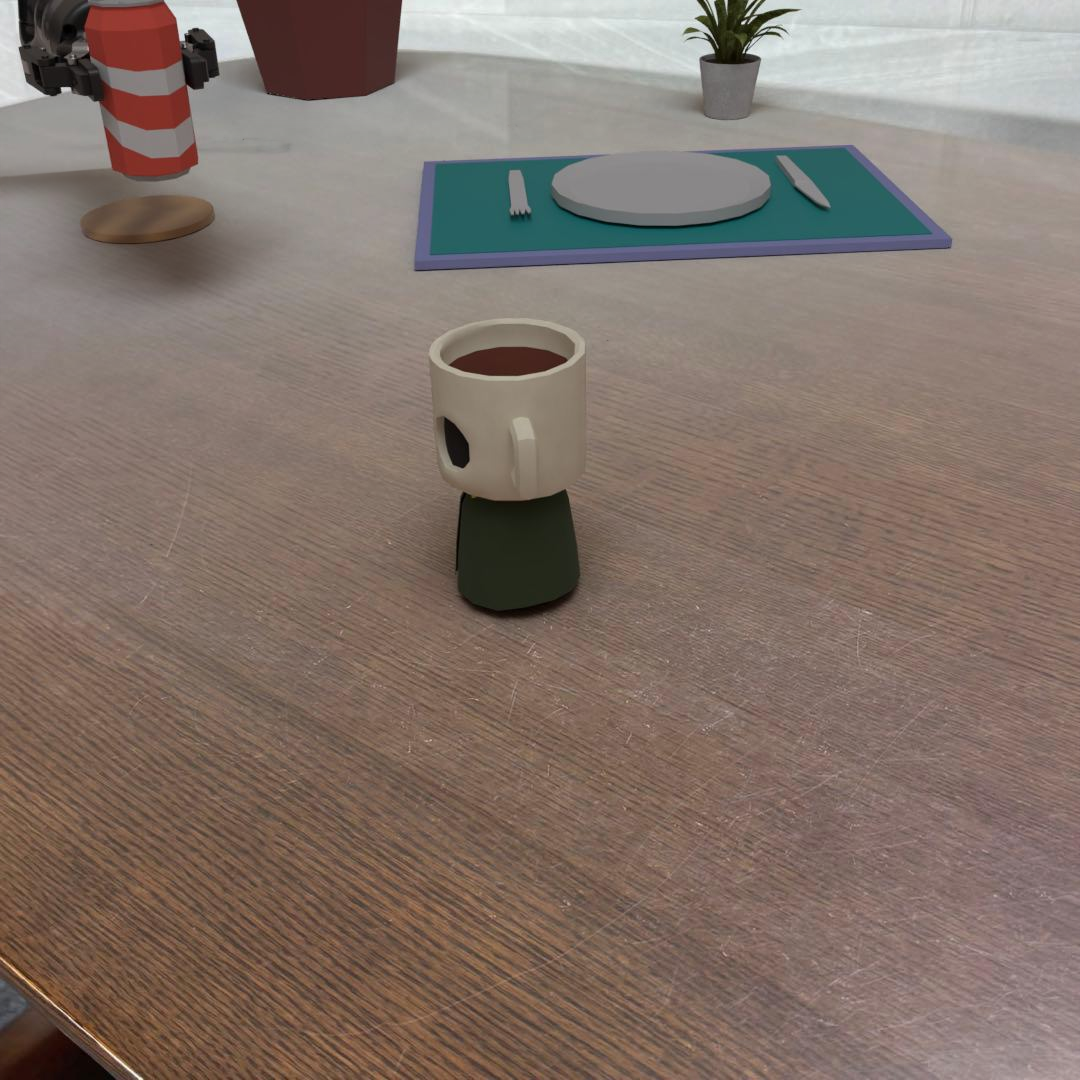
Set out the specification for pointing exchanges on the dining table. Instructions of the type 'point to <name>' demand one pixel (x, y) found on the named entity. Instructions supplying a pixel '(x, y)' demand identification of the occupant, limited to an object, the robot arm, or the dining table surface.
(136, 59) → the beverage can
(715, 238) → the place mat
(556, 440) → the character mug
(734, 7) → the house plant
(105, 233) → the cork trivet
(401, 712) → the dining table surface
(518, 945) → the dining table surface
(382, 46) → the bucket
